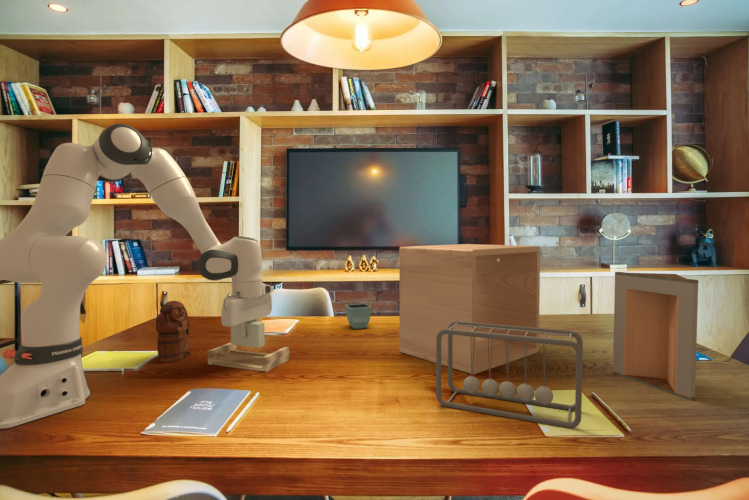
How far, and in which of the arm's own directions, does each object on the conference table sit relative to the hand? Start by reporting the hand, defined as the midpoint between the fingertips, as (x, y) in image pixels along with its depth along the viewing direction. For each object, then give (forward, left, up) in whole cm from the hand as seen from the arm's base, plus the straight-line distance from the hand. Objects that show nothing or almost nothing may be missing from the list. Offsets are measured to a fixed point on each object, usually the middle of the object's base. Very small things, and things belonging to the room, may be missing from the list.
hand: (248, 335), depth 134 cm
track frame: (0, 0, -8) cm, 8 cm away
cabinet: (+21, -112, -8) cm, 114 cm away
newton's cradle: (-9, -76, -8) cm, 77 cm away
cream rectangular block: (0, 0, -3) cm, 3 cm away
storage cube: (+33, -61, -8) cm, 70 cm away
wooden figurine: (-4, +25, -8) cm, 26 cm away
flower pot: (+54, -13, -8) cm, 56 cm away
